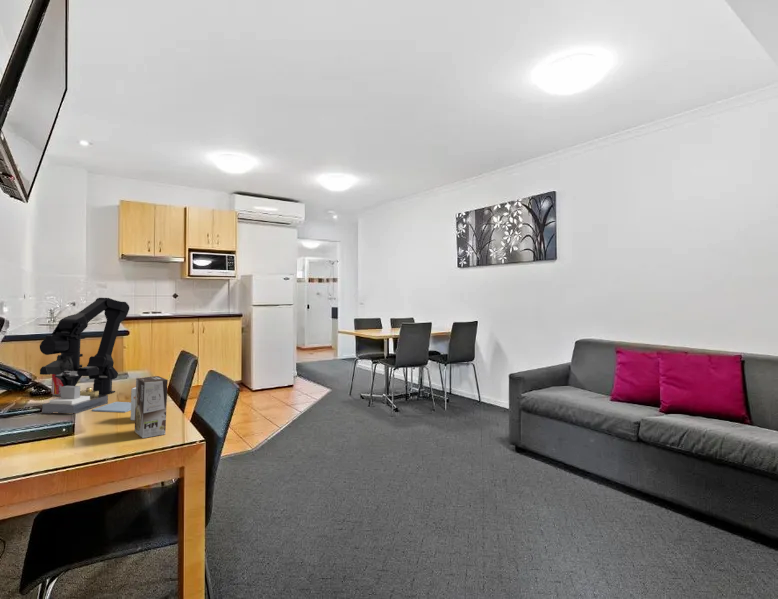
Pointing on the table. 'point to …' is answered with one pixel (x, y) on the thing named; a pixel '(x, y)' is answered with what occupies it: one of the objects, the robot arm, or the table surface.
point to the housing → (75, 405)
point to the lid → (69, 396)
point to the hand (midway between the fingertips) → (68, 393)
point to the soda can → (56, 385)
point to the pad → (115, 407)
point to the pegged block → (89, 392)
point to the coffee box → (150, 406)
